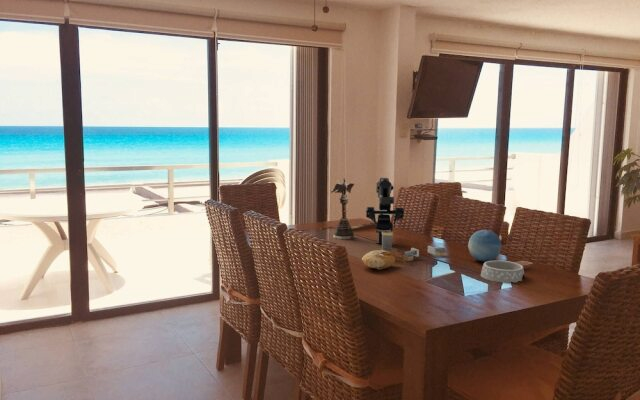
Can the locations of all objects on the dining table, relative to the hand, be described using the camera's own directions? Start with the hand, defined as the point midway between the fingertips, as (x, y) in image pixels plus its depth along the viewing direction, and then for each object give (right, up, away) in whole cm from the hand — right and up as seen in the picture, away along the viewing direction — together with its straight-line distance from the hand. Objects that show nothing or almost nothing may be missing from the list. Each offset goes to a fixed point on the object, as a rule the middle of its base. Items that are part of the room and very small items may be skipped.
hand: (384, 225), depth 272 cm
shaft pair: (+18, -15, -5) cm, 24 cm away
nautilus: (-3, -18, -24) cm, 30 cm away
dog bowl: (+46, -20, -37) cm, 62 cm away
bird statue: (-20, -8, +45) cm, 50 cm away
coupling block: (0, -15, -6) cm, 17 cm away
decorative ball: (+46, -16, -12) cm, 50 cm away
